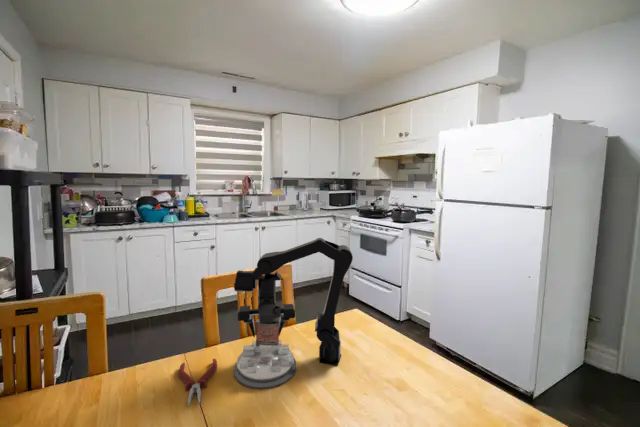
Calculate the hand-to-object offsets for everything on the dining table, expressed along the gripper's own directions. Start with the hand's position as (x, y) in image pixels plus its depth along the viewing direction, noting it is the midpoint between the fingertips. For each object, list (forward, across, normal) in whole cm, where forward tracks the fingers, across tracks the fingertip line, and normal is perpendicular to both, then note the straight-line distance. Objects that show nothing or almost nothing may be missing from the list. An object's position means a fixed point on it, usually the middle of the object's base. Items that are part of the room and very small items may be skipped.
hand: (266, 336), depth 108 cm
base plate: (+8, 0, -6) cm, 10 cm away
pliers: (+9, -22, -10) cm, 26 cm away
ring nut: (+6, 0, -6) cm, 9 cm away
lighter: (+3, 0, 0) cm, 3 cm away
